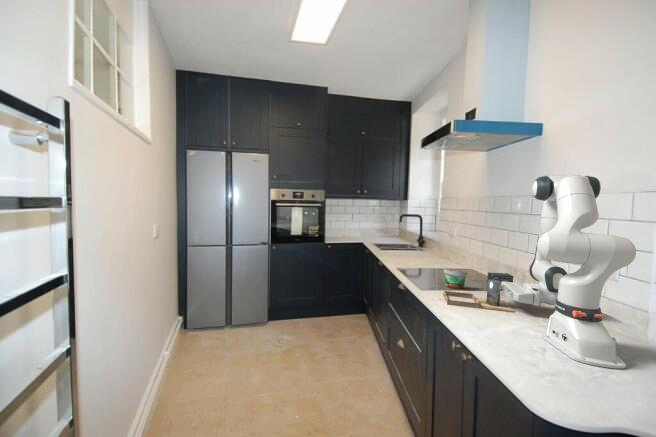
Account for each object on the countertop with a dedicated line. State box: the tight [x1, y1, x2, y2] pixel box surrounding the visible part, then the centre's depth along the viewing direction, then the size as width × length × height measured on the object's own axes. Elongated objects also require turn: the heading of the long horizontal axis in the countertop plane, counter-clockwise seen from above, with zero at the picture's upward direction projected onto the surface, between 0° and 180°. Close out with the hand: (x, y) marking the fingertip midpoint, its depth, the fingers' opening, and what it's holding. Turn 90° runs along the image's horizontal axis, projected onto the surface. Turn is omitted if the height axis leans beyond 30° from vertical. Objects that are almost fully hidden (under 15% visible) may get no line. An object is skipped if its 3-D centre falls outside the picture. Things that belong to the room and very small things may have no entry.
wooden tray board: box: [442, 290, 516, 313], centre depth 136 cm, size 14×28×2 cm, turn 76°
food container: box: [443, 268, 468, 291], centre depth 157 cm, size 12×6×10 cm, turn 71°
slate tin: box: [485, 280, 501, 306], centre depth 134 cm, size 6×6×11 cm
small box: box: [486, 272, 514, 291], centre depth 152 cm, size 11×6×10 cm, turn 84°
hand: (496, 289), depth 133 cm, fingers open, 8 cm apart
